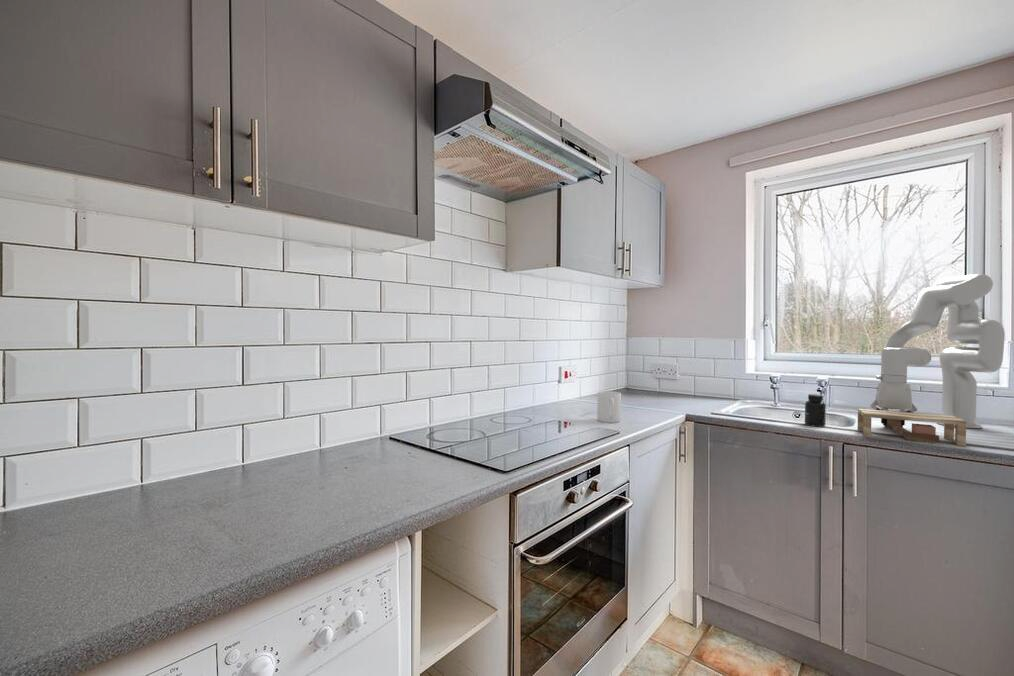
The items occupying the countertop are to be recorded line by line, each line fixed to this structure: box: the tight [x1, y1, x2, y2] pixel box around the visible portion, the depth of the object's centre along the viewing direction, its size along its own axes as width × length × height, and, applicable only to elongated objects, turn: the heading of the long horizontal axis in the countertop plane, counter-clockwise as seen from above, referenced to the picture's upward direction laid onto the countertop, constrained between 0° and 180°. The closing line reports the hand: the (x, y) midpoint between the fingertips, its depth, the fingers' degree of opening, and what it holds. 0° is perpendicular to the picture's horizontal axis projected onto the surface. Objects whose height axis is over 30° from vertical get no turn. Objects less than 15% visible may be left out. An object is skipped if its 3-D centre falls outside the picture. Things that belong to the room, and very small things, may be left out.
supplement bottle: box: [804, 393, 827, 427], centre depth 174 cm, size 7×7×12 cm
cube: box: [911, 422, 937, 435], centre depth 151 cm, size 5×5×5 cm
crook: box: [884, 419, 940, 445], centre depth 158 cm, size 26×9×6 cm, turn 150°
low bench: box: [857, 408, 967, 447], centre depth 153 cm, size 12×26×8 cm, turn 60°
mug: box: [596, 390, 622, 424], centre depth 178 cm, size 10×12×12 cm
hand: (892, 425), depth 169 cm, fingers closed on crook, 4 cm apart
